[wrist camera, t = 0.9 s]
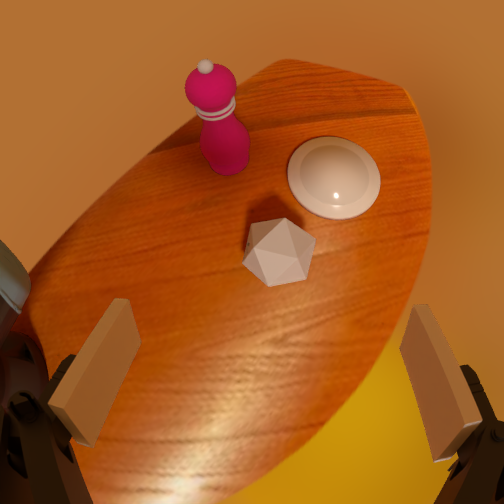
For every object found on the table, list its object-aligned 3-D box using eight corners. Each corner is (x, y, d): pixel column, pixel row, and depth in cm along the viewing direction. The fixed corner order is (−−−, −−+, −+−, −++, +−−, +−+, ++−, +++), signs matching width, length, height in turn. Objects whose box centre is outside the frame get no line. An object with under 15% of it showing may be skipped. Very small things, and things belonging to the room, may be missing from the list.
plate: (287, 218, 45) (287, 215, 44) (287, 138, 49) (287, 134, 48) (383, 222, 44) (385, 219, 43) (372, 143, 48) (374, 139, 47)
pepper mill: (232, 133, 51) (210, 36, 32) (262, 159, 49) (251, 58, 30) (197, 159, 50) (159, 65, 31) (225, 187, 48) (195, 92, 29)
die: (281, 219, 46) (234, 206, 39) (334, 230, 40) (293, 218, 33) (268, 275, 47) (219, 272, 40) (319, 293, 41) (274, 294, 34)
